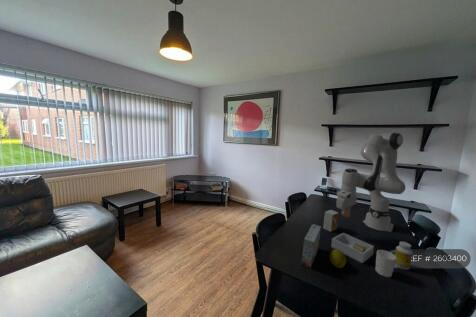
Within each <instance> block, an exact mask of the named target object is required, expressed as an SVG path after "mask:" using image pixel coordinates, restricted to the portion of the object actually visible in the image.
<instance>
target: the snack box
mask: <svg viewBox="0 0 476 317" xmlns="http://www.w3.org/2000/svg"><path fill="white" fill-rule="evenodd" d="M321 230H322V226H321V225H317V224H314V223H313V224H311V226H310V228H309V230H308V232H307V234H306V235H305V237H304V240H303V246H302V247H303V249H302V256H301V266H304V267H306V268H308V269H311V268H312V267H313V264H314V261H315V258H316V256H317V253H318V251H319V245H320V237H321V236H320V235H321Z"/></svg>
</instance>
